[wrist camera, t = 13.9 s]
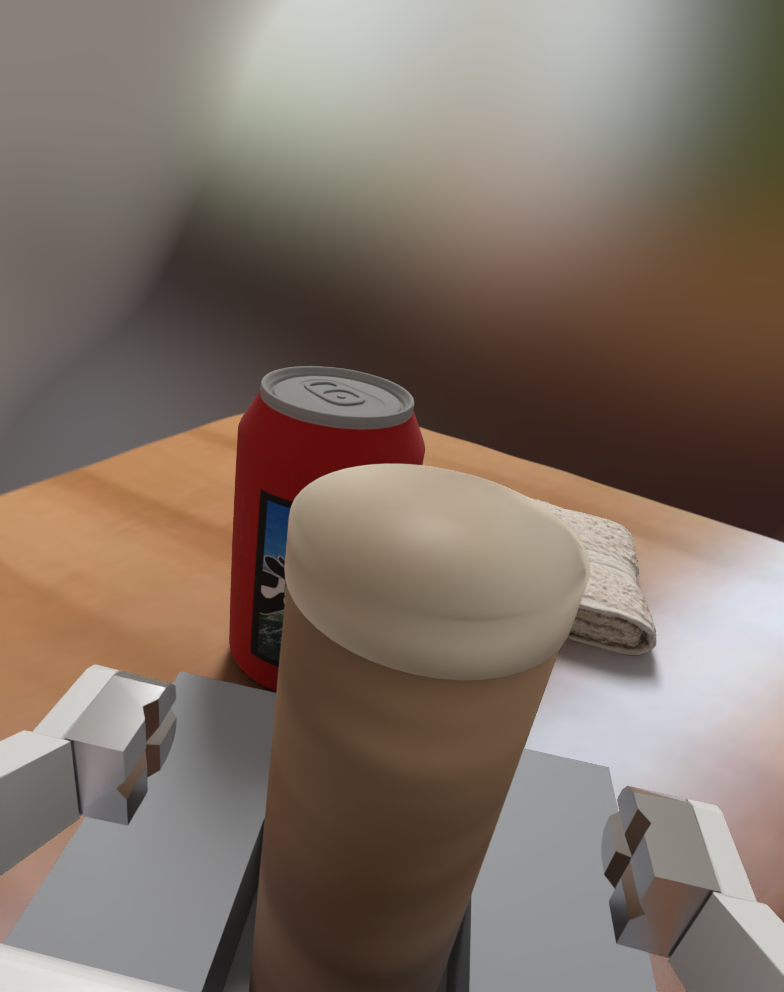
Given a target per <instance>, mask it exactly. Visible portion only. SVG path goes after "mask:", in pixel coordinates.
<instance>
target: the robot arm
mask: <svg viewBox="0 0 784 992" xmlns="http://www.w3.org/2000/svg"><path fill="white" fill-rule="evenodd" d="M175 701H176V685H174V684H172V683H168V682H164V681H160V680H156V679H152V678H148V677H144V676H140V675H137V674H133V673H129V672H125V671H119V670H115V669H111V668H107V667H103V666H99V665H93V666H91V667H90V668H88V669H86V670H85V671H84V672H83V674H82V675H81V676H80V677H79V678H78V679H77V680H76V682H75V683H74V684H73V685H72V686H71V687H70V689H69V690H68V691H67V692H66V693H65V694H64V696H63V697H62V698H61V699H60V700H59V701H58V702H57V704H56V705H55V706H54V707H53V708H52V709H51V711H50V712H49V713H48V714H47V715H46V716H45V717H44V719H43V720H42V721H41V722H40V723H39V724H38V726H37V727H36V728H35V729H34V730H33V731H32V732H30V731H25V730H23V731H21V732H19V733H17V734H15V735H13V736H11V737H9V738H6V739H4V740H2V741H0V876H1V875H2V874H4V873H5V872H6V871H8V870H9V869H11V868H12V867H13V866H15V865H16V864H18V863H19V862H20V861H22V860H23V859H24V858H26V857H27V856H29V855H30V854H31V853H33V852H34V851H36V850H37V849H38V848H40V847H41V846H43V845H44V844H45V843H47V842H48V841H49V840H51V839H52V838H54V837H55V836H56V835H58V834H59V833H61V832H62V831H63V830H65V829H66V828H67V827H69V826H70V825H72V824H73V823H74V822H76V821H77V820H79V818H80V817H79V816H84V817H89V818H93V819H98V820H103V821H108V822H112V823H117V824H122V825H127V826H128V825H129V823H130V821H131V820H132V818H133V816H134V815H135V813H136V811H137V809H138V808H139V806H140V804H141V803H142V801H143V799H144V797H145V796H146V794H147V792H148V781H147V778H148V777H150V776H151V775H153V774H155V773H156V772H158V771H160V770H161V768H162V766H163V764H164V763H165V761H166V759H167V757H168V755H169V752H170V749H171V747H172V744H173V741H174V738H175V732H176V720H177V717H176V716H175V714H174V713H173V712H172V710H171V707H172V705H173V704H174V702H175ZM617 801H618V806H619V810H620V811H619V812H617V813H615V814H613V815H611V816H609V818H608V820H607V823H606V825H605V827H604V830H603V837H602V843H601V856H602V865H603V871H604V875H605V877H606V878H607V879H608V881H609V882H610V883H611V885H612V886H613V887H614V889H615V890H614V892H613V894H612V896H611V898H610V900H609V906H610V912H611V918H612V923H613V929H614V934H615V940H616V944H619V945H622V946H626V947H630V948H633V949H637V950H641V951H645V952H648V953H652V954H656V955H659V956H663V957H667V958H670V959H669V960H668V962H669V963H670V965H671V966H672V968H673V970H674V971H675V973H676V974H677V976H678V977H679V979H680V981H681V982H682V984H683V985H684V987H685V989H686V990H687V992H784V923H783V922H782V921H781V920H780V919H779V917H778V916H777V915H776V914H775V913H774V912H773V911H772V910H771V909H770V908H769V907H768V906H767V905H766V904H762V903H759V902H757V900H756V898H755V895H754V893H753V890H752V887H751V885H750V882H749V880H748V877H747V875H746V872H745V870H744V867H743V865H742V862H741V859H740V857H739V854H738V852H737V849H736V847H735V844H734V842H733V839H732V836H731V834H730V831H729V829H728V826H727V824H726V821H725V819H724V816H723V814H722V811H721V810H720V809H719V808H718V807H717V806H716V805H712V804H707V803H703V802H698V801H694V800H689V799H684V798H681V797H677V796H672V795H667V794H663V793H658V792H653V791H649V790H644V789H639V788H635V787H630V786H627V787H625V788H624V789H623V790H622V791H621V793H620V795H619V797H618V799H617ZM0 992H188V991H184V990H180V989H176V988H172V987H168V986H165V985H161V984H157V983H153V982H149V981H145V980H141V979H137V978H133V977H129V976H126V975H122V974H118V973H114V972H110V971H106V970H102V969H98V968H94V967H90V966H87V965H83V964H79V963H75V962H71V961H67V960H63V959H59V958H55V957H51V956H48V955H44V954H40V953H36V952H32V951H28V950H24V949H20V948H16V947H12V946H8V945H5V944H1V943H0Z"/></svg>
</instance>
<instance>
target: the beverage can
mask: <svg viewBox="0 0 784 992" xmlns="http://www.w3.org/2000/svg"><path fill="white" fill-rule="evenodd" d="M413 407H414V400H413V397H412V396H411V394H410V393H409V392H408V391H407V390H405V389H404V388H402V387H401V386H399V385H397V384H395V383H393V382H391V381H388V380H386V379H383V378H380V377H377V376H374V375H370V374H367V373H362V372H358V371H352V370H347V369H341V368H333V367H320V366H317V367H316V366H302V367H290V368H284V369H279V370H276V371H273V372H271V373H268V374H267V375H266V376H264V378H263V379H262V381H261V390H260V391H259V393H258V394H257V395H256V397H255V399H254V400H253V402H252V403H251V405H250V406H249V408H248V409H247V411H246V412H245V414H244V415H243V417H242V418H241V421H240V423H239V426H238V440H237V458H236V476H235V496H234V518H233V541H232V568H231V597H230V636H229V643H230V649H231V652H232V655H233V657H234V659H235V661H236V663H237V664H238V666H239V667H240V668H241V669H242V670H243V672H245V673H246V674H247V675H248V676H249V677H250V678H252V679H253V680H255V681H256V682H258V683H259V684H261V685H263V686H265V687H267V688H269V689H272V690H274V691H277V682H278V671H279V660H280V649H281V639H282V628H283V617H284V606H285V596H286V585H287V584H286V580H285V569H284V567H285V555H286V544H287V533H288V522H289V514H290V509H291V506H292V504H293V501H294V499H295V498H296V496H297V495H298V494H299V493H300V491H301V490H302V489H304V488H305V487H306V486H307V485H308V484H310V483H311V482H313V481H315V480H316V479H318V478H320V477H322V476H325V475H327V474H329V473H332V472H335V471H339V470H342V469H346V468H351V467H356V466H363V465H371V464H413V465H422V464H423V459H424V453H425V445H424V441H423V438H422V435H421V432H420V429H419V426H418V423H417V420H416V417H415V414H414V412H413Z"/></svg>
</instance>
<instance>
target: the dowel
mask: <svg viewBox="0 0 784 992" xmlns="http://www.w3.org/2000/svg"><path fill="white" fill-rule="evenodd" d="M284 569H285V580H286V584H287V585H286V596H285V606H284V617H283V628H282V639H281V649H280V660H279V671H278V682H277V693H276V703H275V714H274V725H273V736H272V746H271V757H270V768H269V779H268V789H267V800H266V811H265V822H264V832H263V843H262V854H261V865H260V875H259V886H258V897H257V908H256V918H255V929H254V940H253V951H252V962H251V972H250V983H249V992H437V989H438V986H439V983H440V981H441V978H442V975H443V972H444V970H445V967H446V964H447V961H448V958H449V956H450V953H451V950H452V947H453V944H454V942H455V939H456V936H457V933H458V931H459V928H460V925H461V922H462V919H463V917H464V914H465V911H466V908H467V906H468V903H469V900H470V897H471V894H472V892H473V889H474V886H475V883H476V880H477V878H478V875H479V872H480V869H481V867H482V864H483V861H484V858H485V855H486V853H487V850H488V847H489V844H490V841H491V839H492V836H493V833H494V830H495V828H496V825H497V822H498V819H499V816H500V814H501V811H502V808H503V805H504V803H505V800H506V797H507V794H508V791H509V789H510V786H511V783H512V780H513V777H514V775H515V772H516V769H517V766H518V764H519V761H520V758H521V755H522V752H523V750H524V747H525V744H526V741H527V738H528V736H529V733H530V730H531V727H532V725H533V722H534V719H535V716H536V713H537V711H538V708H539V705H540V702H541V700H542V697H543V694H544V691H545V688H546V686H547V683H548V680H549V677H550V674H551V672H552V669H553V666H554V663H555V661H556V658H557V655H558V652H559V649H560V648H561V647H562V645H563V644H564V643H565V641H566V640H567V638H568V636H569V633H570V630H571V628H572V625H573V622H574V619H575V617H576V614H577V611H578V608H579V606H580V603H581V600H582V597H583V595H584V592H585V589H586V586H587V584H588V581H589V577H590V564H589V558H588V556H587V553H586V551H585V548H584V546H583V545H582V543H581V542H580V540H579V538H578V537H577V536H576V535H575V534H574V532H573V531H572V530H571V529H570V528H569V527H568V526H567V525H566V524H565V523H564V522H563V521H562V520H561V519H560V518H558V517H557V516H556V515H554V514H553V513H552V512H550V511H549V510H548V509H546V508H545V507H543V506H542V505H540V504H538V503H537V502H535V501H533V500H532V499H530V498H528V497H526V496H524V495H522V494H520V493H518V492H516V491H514V490H512V489H510V488H507V487H505V486H502V485H500V484H497V483H495V482H492V481H489V480H486V479H483V478H480V477H477V476H473V475H470V474H466V473H462V472H458V471H453V470H449V469H443V468H437V467H431V466H423V465H413V464H371V465H363V466H356V467H351V468H346V469H342V470H339V471H335V472H332V473H329V474H327V475H325V476H322V477H320V478H318V479H316V480H315V481H313V482H311V483H310V484H308V485H307V486H306V487H305V488H304V489H302V490H301V491H300V493H299V494H298V495H297V496H296V498H295V499H294V501H293V504H292V506H291V509H290V514H289V522H288V533H287V544H286V555H285V567H284Z"/></svg>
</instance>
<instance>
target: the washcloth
mask: <svg viewBox="0 0 784 992" xmlns="http://www.w3.org/2000/svg"><path fill="white" fill-rule="evenodd" d="M530 499H531V498H530ZM532 500H533V501H535V502H537V503H538V504H540V505H542V506H543V507H545V508H546V509H548V510H549V511H550V512H552V513H553V514H554V515H556V516H557V517H558V518H560V519H561V520H562V521H563V522H564V523H565V524H566V525H567V526H568V527H569V528H570V529H571V530H572V531H573V532H574V534H575V535H576V536H577V537H578V538H579V540H580V542H581V543H582V545H583V546H584V548H585V551H586V553H587V556H588V558H589V564H590V577H589V581H588V584H587V586H586V589H585V592H584V595H583V597H582V600H581V603H580V606H579V608H578V611H577V614H576V617H575V619H574V622H573V625H572V628H571V630H570V633H569V636H568V638H569V639H571V640H574V641H578V642H581V643H585V644H588V645H591V646H595V647H598V648H602V649H605V650H608V651H612V652H616V653H621V654H627V655H640V654H643V653H646V652H648V651H650V650H652V649H653V648H654V647H655V646H656V629H655V626H654V623H653V620H652V615H651V614H650V611H649V609H648V605H647V603H646V600H645V597H644V595H643V594H642V591H641V590H640V589H639V585H638V582H637V579H636V577H637V576H638V575H639V568H638V564H637V562H638V560H637V557H636V552H635V551H636V550H635V546H634V545H633V539H632V534H630V533H629V531H628V530H627V529H625V527H624V526H622V525H620V524H618V523H615V522H613V521H610V520H606V519H603V518H600V517H595V516H593V515H589V514H584V513H581V512H576V511H571V510H565V509H563V508H560V507H557V506H554V505H551V504H549V503H547V502H541V501H540V500H537V499H532Z"/></svg>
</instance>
